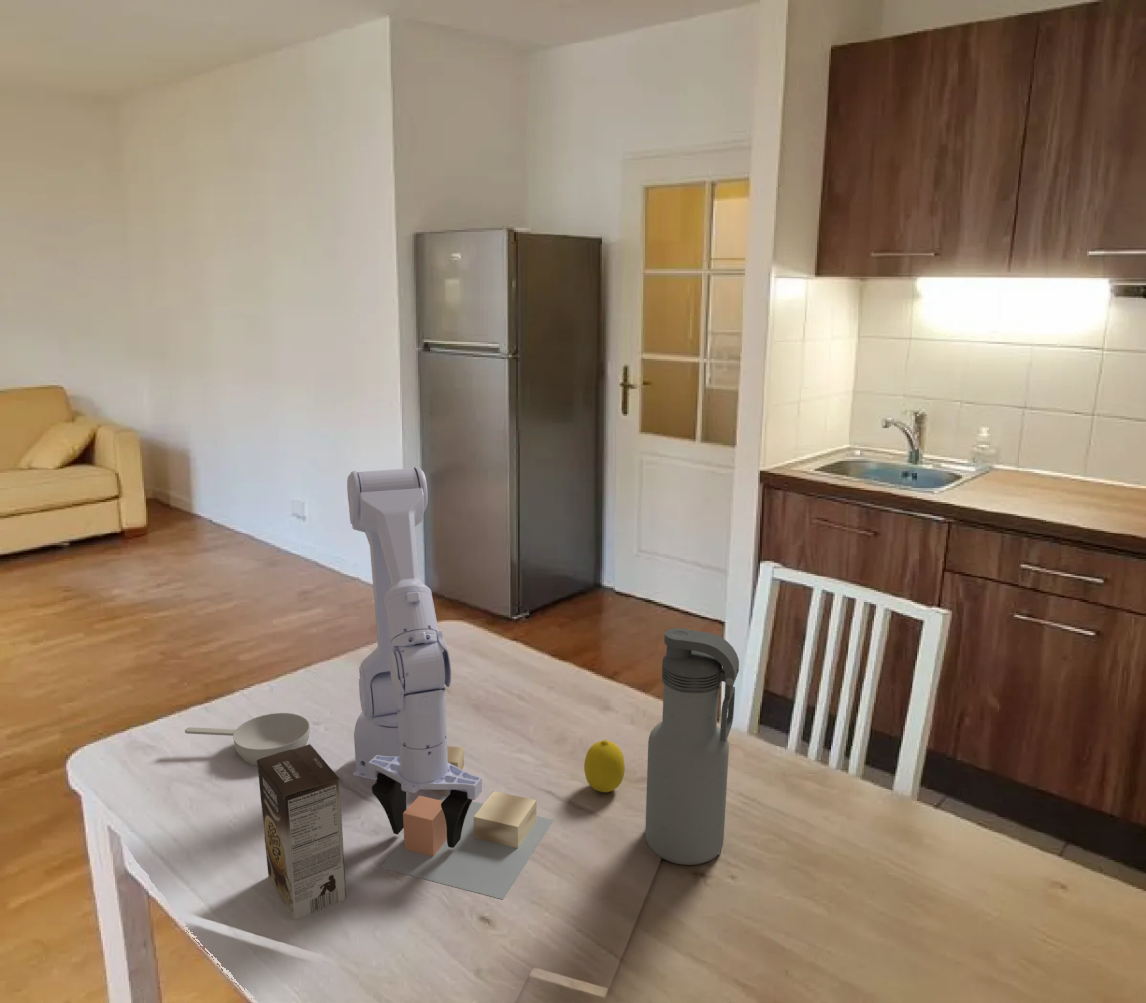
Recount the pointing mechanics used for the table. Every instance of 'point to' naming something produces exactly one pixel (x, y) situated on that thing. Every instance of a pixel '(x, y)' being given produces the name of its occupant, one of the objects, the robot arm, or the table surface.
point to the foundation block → (505, 819)
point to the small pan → (264, 735)
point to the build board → (471, 859)
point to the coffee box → (302, 830)
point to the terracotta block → (424, 826)
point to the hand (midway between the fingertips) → (426, 836)
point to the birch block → (456, 756)
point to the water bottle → (690, 749)
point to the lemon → (604, 766)
